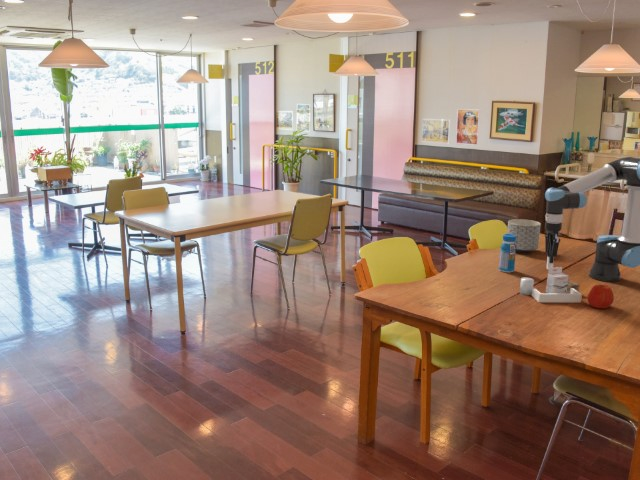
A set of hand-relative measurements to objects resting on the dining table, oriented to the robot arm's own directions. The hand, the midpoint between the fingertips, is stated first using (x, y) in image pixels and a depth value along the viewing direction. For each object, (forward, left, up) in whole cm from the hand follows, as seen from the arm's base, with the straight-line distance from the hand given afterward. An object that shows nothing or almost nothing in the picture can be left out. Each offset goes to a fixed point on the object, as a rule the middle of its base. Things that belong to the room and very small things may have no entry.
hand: (549, 268), depth 297 cm
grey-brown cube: (-10, +3, -12) cm, 16 cm away
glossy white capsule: (+12, +3, -12) cm, 17 cm away
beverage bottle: (+9, -35, -12) cm, 38 cm away
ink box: (0, +10, -12) cm, 16 cm away
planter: (-15, -78, -12) cm, 80 cm away
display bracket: (+1, +11, -11) cm, 16 cm away
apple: (-16, +22, -12) cm, 29 cm away
